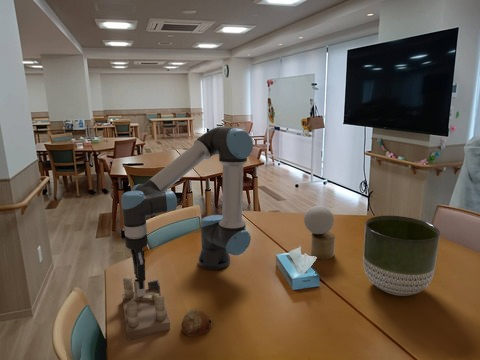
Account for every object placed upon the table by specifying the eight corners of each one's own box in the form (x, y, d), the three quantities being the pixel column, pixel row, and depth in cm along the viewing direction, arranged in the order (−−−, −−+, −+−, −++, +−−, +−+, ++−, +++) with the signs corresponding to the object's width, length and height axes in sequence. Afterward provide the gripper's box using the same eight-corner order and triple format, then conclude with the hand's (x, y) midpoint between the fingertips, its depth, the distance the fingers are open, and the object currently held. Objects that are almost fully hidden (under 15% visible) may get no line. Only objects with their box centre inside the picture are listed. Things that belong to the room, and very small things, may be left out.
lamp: (300, 257, 169) (301, 209, 163) (306, 246, 182) (307, 200, 176) (331, 262, 164) (334, 212, 158) (335, 250, 176) (338, 203, 170)
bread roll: (188, 327, 125) (178, 310, 123) (213, 315, 124) (203, 298, 122) (186, 346, 115) (175, 328, 113) (214, 333, 115) (203, 315, 113)
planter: (425, 277, 149) (433, 219, 143) (437, 313, 125) (447, 244, 118) (360, 268, 158) (364, 212, 151) (360, 300, 133) (365, 235, 127)
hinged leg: (160, 297, 131) (158, 279, 130) (157, 301, 128) (156, 283, 126) (137, 296, 132) (135, 278, 130) (134, 301, 129) (132, 283, 127)
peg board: (122, 300, 135) (120, 276, 132) (158, 293, 140) (157, 269, 137) (127, 340, 113) (124, 311, 110) (170, 329, 118) (168, 301, 115)
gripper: (122, 230, 125) (127, 289, 130) (128, 243, 114) (134, 307, 119) (143, 227, 128) (147, 284, 134) (151, 239, 117) (156, 301, 122)
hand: (141, 295), depth 126 cm, fingers closed
